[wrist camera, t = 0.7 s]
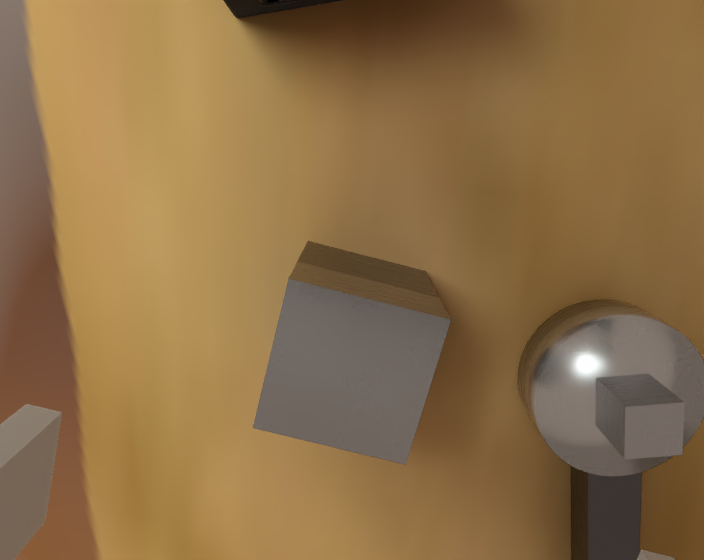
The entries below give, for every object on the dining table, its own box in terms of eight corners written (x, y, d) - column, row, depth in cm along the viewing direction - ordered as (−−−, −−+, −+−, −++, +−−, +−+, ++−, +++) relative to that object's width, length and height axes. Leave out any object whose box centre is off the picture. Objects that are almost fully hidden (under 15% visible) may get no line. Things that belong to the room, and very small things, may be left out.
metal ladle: (515, 306, 29) (555, 348, 23) (676, 292, 28) (759, 331, 23) (525, 635, 33) (560, 739, 27) (664, 625, 33) (730, 729, 27)
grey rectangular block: (307, 241, 28) (288, 278, 20) (425, 271, 28) (451, 319, 20) (280, 352, 29) (252, 428, 22) (393, 380, 30) (405, 464, 22)
